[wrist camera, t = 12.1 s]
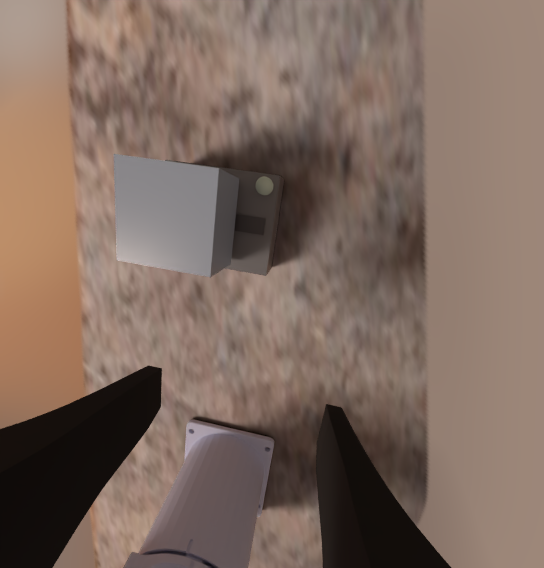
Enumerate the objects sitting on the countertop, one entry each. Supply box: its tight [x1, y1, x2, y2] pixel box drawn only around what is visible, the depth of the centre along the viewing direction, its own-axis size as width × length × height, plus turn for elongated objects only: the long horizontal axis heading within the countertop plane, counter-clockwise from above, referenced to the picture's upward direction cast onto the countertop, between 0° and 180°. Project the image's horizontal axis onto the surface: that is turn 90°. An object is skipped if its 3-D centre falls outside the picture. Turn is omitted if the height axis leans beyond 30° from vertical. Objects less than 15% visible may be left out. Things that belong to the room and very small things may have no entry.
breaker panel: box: [165, 160, 284, 275], centre depth 17 cm, size 6×7×3 cm
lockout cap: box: [114, 154, 239, 277], centre depth 14 cm, size 5×5×4 cm
